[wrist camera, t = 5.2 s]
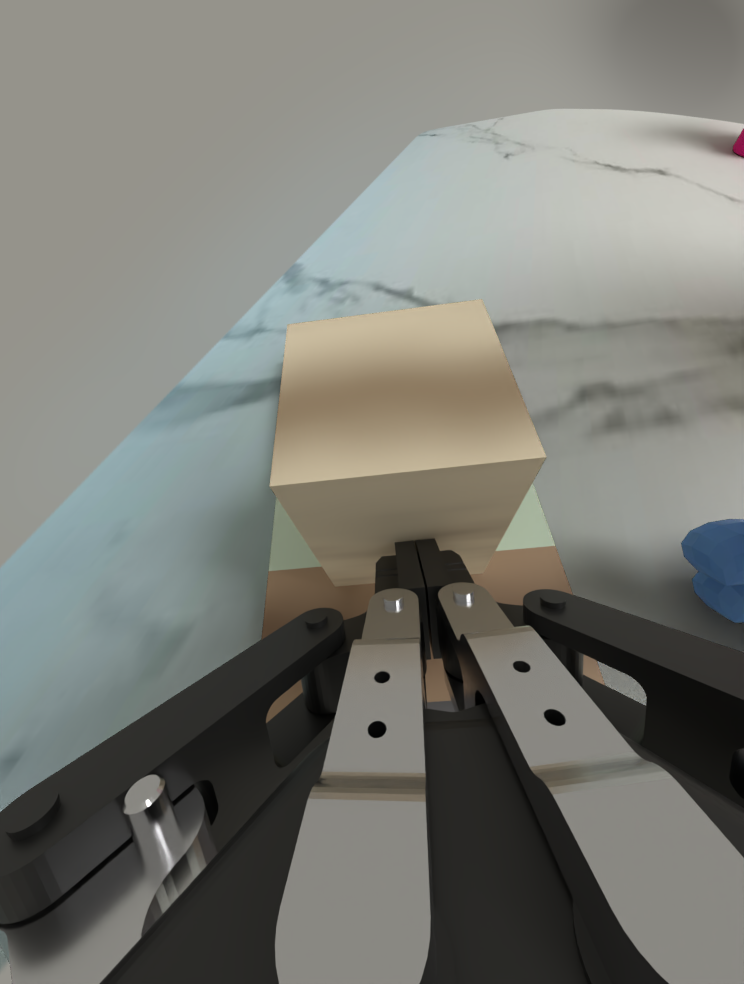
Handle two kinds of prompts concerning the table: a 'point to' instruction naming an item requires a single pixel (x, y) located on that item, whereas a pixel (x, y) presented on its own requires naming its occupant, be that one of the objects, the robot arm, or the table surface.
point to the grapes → (718, 565)
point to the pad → (520, 534)
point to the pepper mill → (739, 145)
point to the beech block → (401, 437)
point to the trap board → (314, 589)
